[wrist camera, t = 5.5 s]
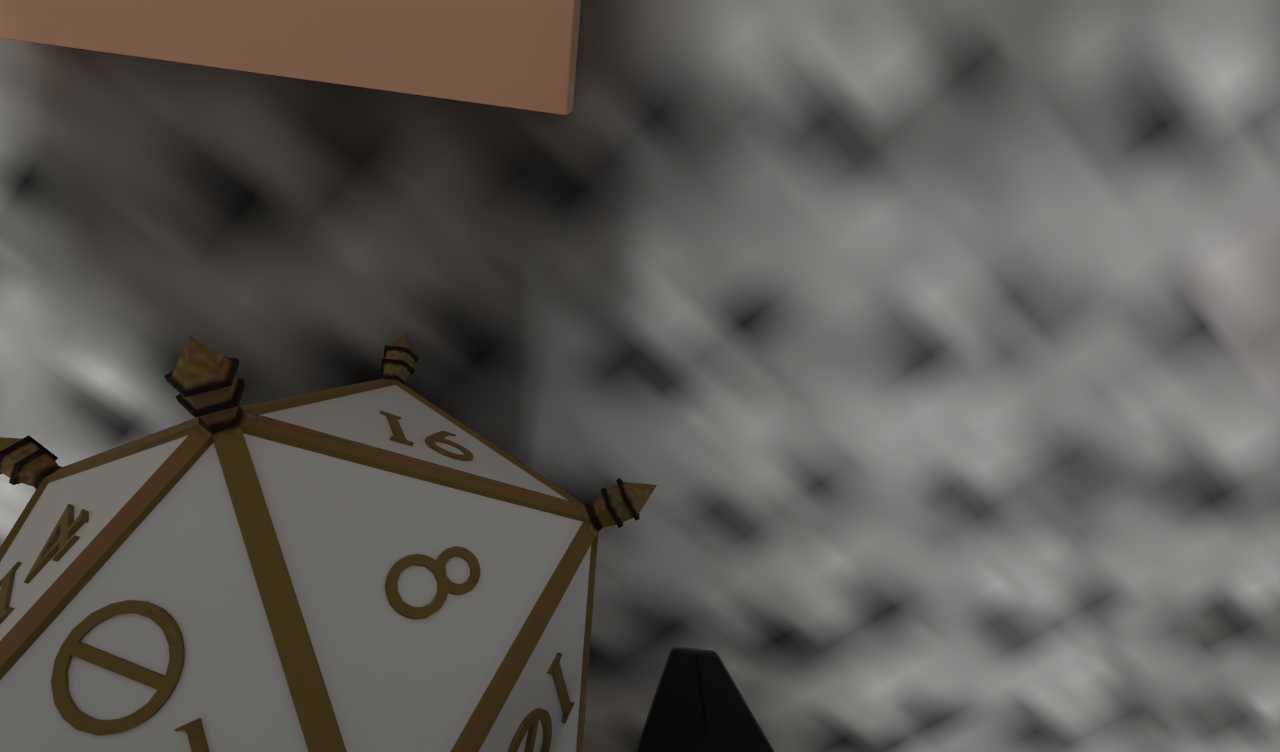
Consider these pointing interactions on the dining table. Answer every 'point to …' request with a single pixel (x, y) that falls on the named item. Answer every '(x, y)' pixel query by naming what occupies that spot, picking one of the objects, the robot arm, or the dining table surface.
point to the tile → (337, 41)
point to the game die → (298, 581)
